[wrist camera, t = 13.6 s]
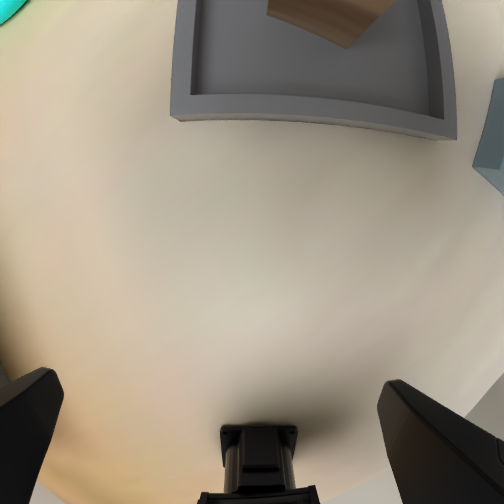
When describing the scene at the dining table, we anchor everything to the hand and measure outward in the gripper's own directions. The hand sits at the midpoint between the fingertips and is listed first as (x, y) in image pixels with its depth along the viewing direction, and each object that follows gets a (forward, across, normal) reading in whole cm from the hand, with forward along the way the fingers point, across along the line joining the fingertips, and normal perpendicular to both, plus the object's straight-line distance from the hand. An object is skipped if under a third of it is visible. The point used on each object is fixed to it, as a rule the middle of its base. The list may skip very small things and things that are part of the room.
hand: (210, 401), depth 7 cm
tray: (+12, -5, -16) cm, 21 cm away
